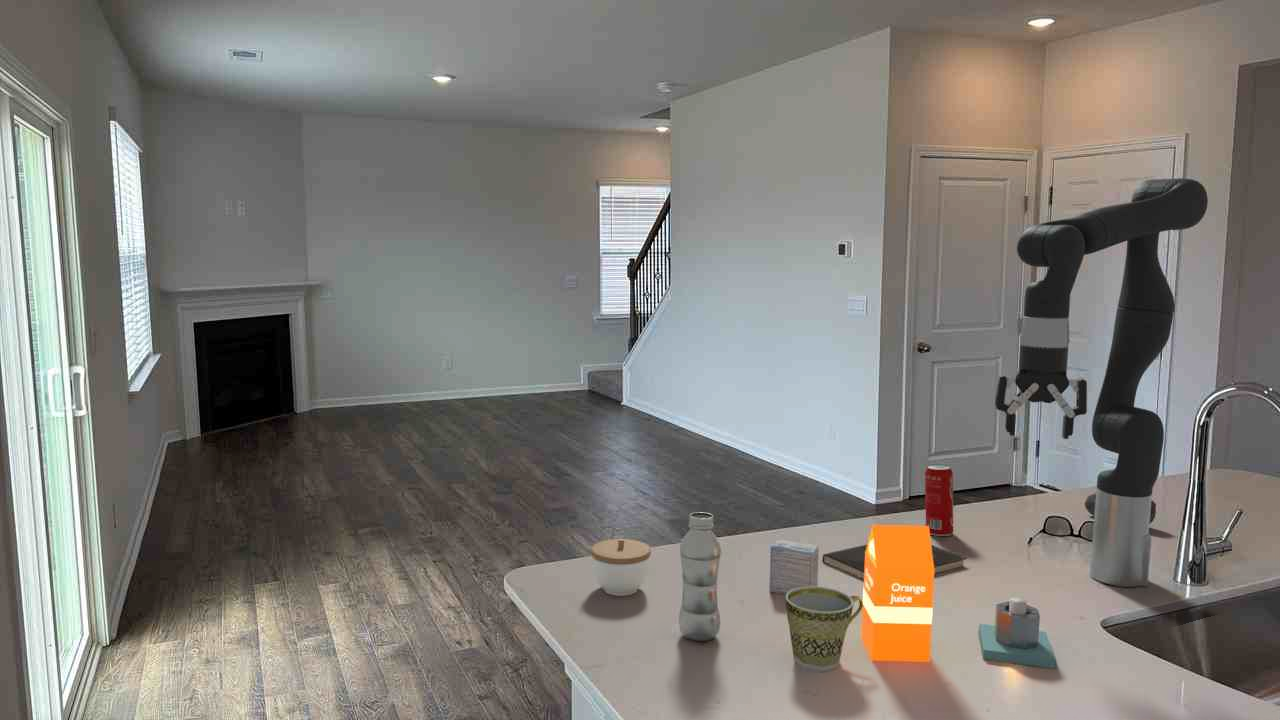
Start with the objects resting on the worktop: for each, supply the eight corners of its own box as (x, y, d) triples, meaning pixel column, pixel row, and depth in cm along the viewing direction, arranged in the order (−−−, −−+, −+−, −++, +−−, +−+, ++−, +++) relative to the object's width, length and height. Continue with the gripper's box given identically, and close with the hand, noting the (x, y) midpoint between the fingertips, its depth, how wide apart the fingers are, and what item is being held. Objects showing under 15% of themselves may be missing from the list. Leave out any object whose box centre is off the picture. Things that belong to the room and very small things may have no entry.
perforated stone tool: (1078, 516, 211) (1081, 487, 210) (1089, 512, 214) (1092, 484, 214) (1145, 532, 199) (1148, 502, 199) (1156, 528, 203) (1159, 498, 202)
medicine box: (817, 591, 163) (819, 545, 162) (811, 599, 159) (813, 552, 158) (775, 583, 166) (777, 538, 165) (768, 592, 162) (770, 545, 161)
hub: (1034, 635, 142) (1036, 604, 141) (1039, 651, 136) (1041, 619, 136) (993, 630, 144) (995, 600, 143) (996, 645, 138) (998, 614, 137)
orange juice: (860, 638, 144) (866, 517, 141) (916, 639, 143) (922, 518, 141) (871, 660, 136) (877, 533, 133) (930, 662, 136) (937, 534, 133)
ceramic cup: (807, 683, 129) (810, 616, 127) (770, 654, 138) (772, 591, 136) (880, 667, 134) (884, 603, 133) (840, 640, 143) (843, 579, 142)
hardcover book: (965, 568, 177) (966, 557, 177) (882, 590, 165) (882, 578, 165) (903, 545, 191) (903, 534, 190) (822, 564, 179) (822, 553, 178)
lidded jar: (614, 574, 170) (615, 526, 169) (661, 587, 164) (662, 537, 163) (578, 591, 161) (579, 541, 160) (627, 606, 155) (627, 553, 154)
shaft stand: (1044, 640, 144) (1048, 592, 142) (1054, 668, 134) (1058, 617, 133) (978, 632, 146) (981, 585, 145) (983, 659, 137) (986, 608, 136)
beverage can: (954, 538, 194) (958, 470, 192) (923, 536, 195) (927, 468, 193) (951, 529, 199) (954, 464, 198) (920, 527, 201) (924, 462, 199)
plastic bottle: (708, 649, 139) (711, 524, 136) (670, 639, 142) (672, 517, 140) (727, 634, 144) (730, 514, 142) (690, 624, 148) (692, 507, 145)
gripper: (1085, 342, 155) (1079, 435, 157) (997, 339, 159) (992, 429, 161) (1094, 347, 147) (1087, 444, 150) (1001, 344, 151) (995, 438, 154)
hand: (1038, 436), depth 155 cm, fingers open, 8 cm apart
